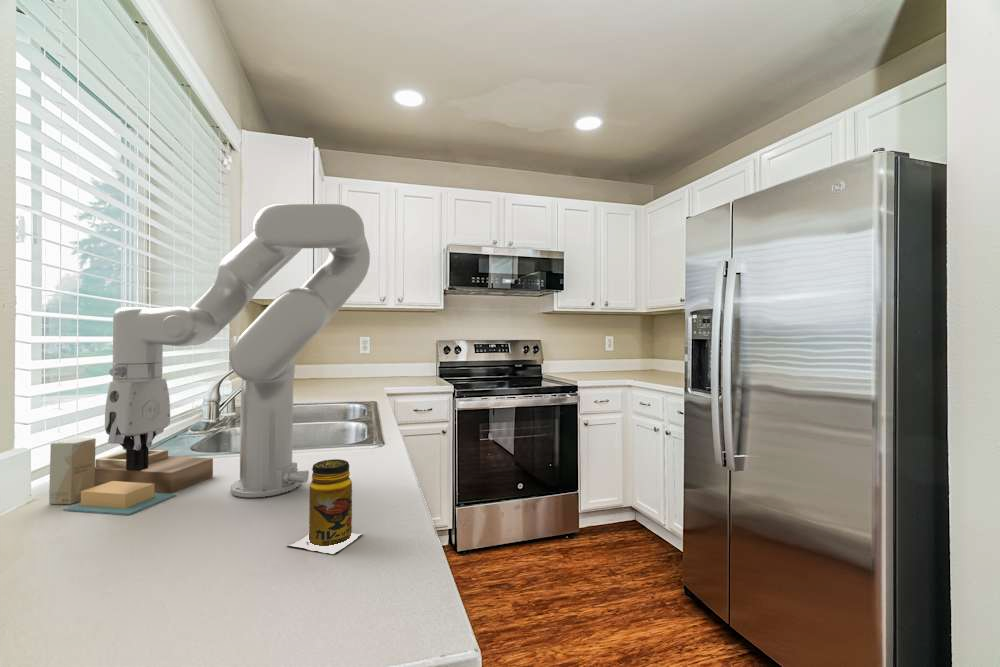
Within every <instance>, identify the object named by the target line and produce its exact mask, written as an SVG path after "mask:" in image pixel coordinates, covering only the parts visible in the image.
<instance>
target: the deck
mask: <svg viewBox="0 0 1000 667" xmlns="http://www.w3.org/2000/svg"><path fill="white" fill-rule="evenodd" d="M213 475H214V458H213V457H198V456H197V457H195V456H180V455H179V456H176V455H174V456H173V455H169V450H168V449H167V450H166V449H165V450H163V449H149V451H148V468H147V469H143V470H141V471H129V470H126V451H122V452H119V453H115V454H110V455H107V456H103V457H100V458H95V486H94V487H96V486H99V485H102V484H105V483H108V482H111V481H120V482H137V483H153V484H154V493H166V494H174V493H176V492H178V491H180V490H183V489H185V488H189V487H190V486H193V485H196V484H198V483H201V482H203V481H205V480H209V479H211V478H213ZM210 477H211V478H210Z"/></svg>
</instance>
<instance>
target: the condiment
mask: <svg viewBox="0 0 1000 667" xmlns="http://www.w3.org/2000/svg"><path fill="white" fill-rule="evenodd" d="M311 470H312V474H311V482H310V484H309V500H308V501H309V508H308V510H309V514H308V516H309V518H308V520H309V521H308V525H309V526H308V528H309V530H308V531H309V532H308V533H309V540H310V543H312V544H314V545H319V546H329V545H334V544H338V543H341V542H344V541H346V540H347V539H349V538H350V536H351V533H352V532H353V525H352V524H353V521H352V519H353V513H352V512H353V508H352V507H353V504H352V503H353V501H352V500H353V489H352V488H353V486H352V484H353V481H352V479H351V478H350V464H349V462H348V461H347V460H345V459H336V458H333V459H324V460H320V461H318V462H315V463H314V464H312V469H311Z"/></svg>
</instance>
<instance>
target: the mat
mask: <svg viewBox="0 0 1000 667" xmlns="http://www.w3.org/2000/svg"><path fill="white" fill-rule="evenodd" d="M176 496H177V493H157V492H154V497H153V498H150V499H148V500H145V501H143V502H140V503H137V504H135V505H132V506H130V507H127V508H112V507H98V506H84V505H81V502H78V503H76V504H74V505H71V506H68V507H64V508H63V509H62V511H63V510H67V511H66V512H77V513H92V514H105V515H106V514H107V515H120V516H121V515H122V516H130V515H132V514H136V513H137V512H141V511H143V510H146V509H149V508H150V507H152V506H155V505H157V504H159V503H162V502H164V501H167V500H169V499H172V498H174V497H176Z"/></svg>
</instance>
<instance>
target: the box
mask: <svg viewBox="0 0 1000 667" xmlns="http://www.w3.org/2000/svg"><path fill="white" fill-rule="evenodd" d="M96 441H97V439H96V438H95V437H73V438H69V439H64V440H60V441H56V442H55V441H54V442H51V443H50V454H49V455H50V459H49V461H50V462H49V492H48V494H49V496H48V497H49V498H48V503H49V505H63V504H64V505H72V504H75V503H77V502H78V503H79V502H81V491H83V490H86V489H89V488H93V487H94V486H95V467H96Z"/></svg>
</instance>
